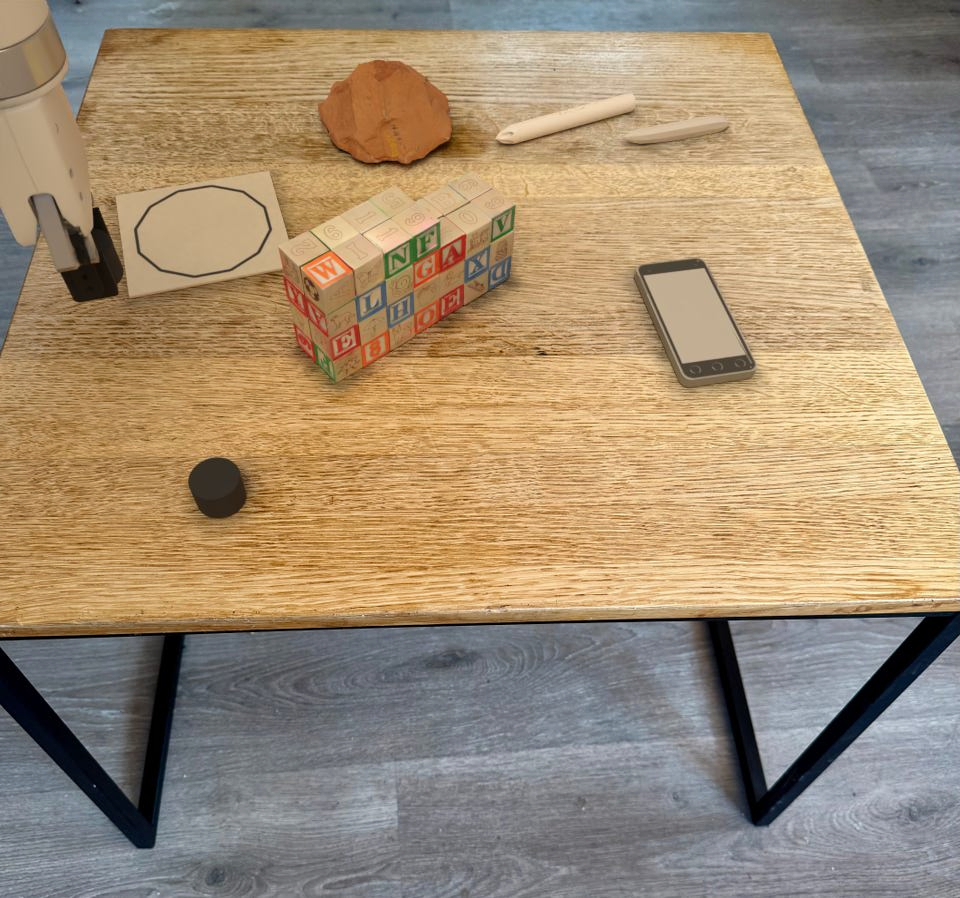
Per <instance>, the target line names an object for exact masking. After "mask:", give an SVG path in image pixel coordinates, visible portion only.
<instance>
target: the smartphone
mask: <svg viewBox="0 0 960 898" xmlns="http://www.w3.org/2000/svg"><path fill="white" fill-rule="evenodd" d="M633 278H634V281H635V284H636V286H637V288H638V290H639V293H640V295H641V297H642V300H643V302H644V304H645V306H646V308H647V311H648V314H649V315H650V316H649V317H650V318H651V321H652V323H653V326H654V328H655V331H656V332H657V334H658V337H659V338H660V341H661V343H662V345H663V348H664V350H665V352H666V355H667V357H668V360H669V362H670V364H671V366H672V368H673V371H674V373H675V375H676V378H677V380H678V382H679V384H680V385H682V386H683V387H685V388H693V387H695V388H696V387H700V386H708V385H714V384H721V383H728V382H729V383H730V382H736V381H741V380H748V379H751V378H753V377H754V374H755V373H756V371H757V369H758V363H757V360H756V358H755V356H754V354H753V352H752V351H751V349H750V346H749V345H748V343H747V341H746V339H745V337H744V334H743V333H742V331H741V329H740V327H739V325H738V323H737V321H736V319H735V317H734V315H733V312H732V310H730V309H731V308H730V307H729V305H728V302H727V301H726V299H725V297H724V295H723V294H722V291H721V289H720V288H719V285H718V283H717V280H716V279H715V277H714V276H713V273H712V272H711V270H710V267H709V265H708V263H707V262H706V261H705V259H702V258H701V257H691V258H690V257H689V258H681V259H673V260H666V261H659V262H651V263H649V262H648V263H642V264H639V265H637V267H636V269H635V273H634V276H633Z"/></svg>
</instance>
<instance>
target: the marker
mask: <svg viewBox="0 0 960 898" xmlns="http://www.w3.org/2000/svg"><path fill="white" fill-rule="evenodd" d="M636 105H637V99H636V97H635V94H634V93H632V92H627V93H623V94H619V95H616V96H612V97H607V98H604V99H600V100H597V101H592V102H589V103H585V104H581V105H578V106H574V107H571V108H567V109H563V110H559V111H556V112H551V113H547V114H544V115H540V116H537V117H533V118H530V119H526V120H523V121H519V122H515V123H511V124H509V125H507V126H505V127H504V128H503V129H502V130H501V131H499V132H498V134H497V135H496V136H495V141H497V142H499V143H501V144H508V145H511V144H518V143H522V142H525V141H529V140H533V139H536V138H540V137H545V136H547V135H551V134H555V133H558V132H563V131H565V130H568V129H569V130H570V129H572V128H576V127H580V126H584V125H587V124H592V123H595V122H598V121H602V120H605V119H610V118H612V117H616V116H619V115H620V116H621V115H623V114H628V113H631V112H632V111H634V110H635V109H636V107H637V106H636Z"/></svg>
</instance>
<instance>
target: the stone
mask: <svg viewBox="0 0 960 898" xmlns="http://www.w3.org/2000/svg"><path fill="white" fill-rule="evenodd" d="M317 109H318V113H319V117H320V119H321V120H322V122H323V124H324V126H325V127H326V128H327V130H328V132H329V133H328V137H329V139H330V141H331V142H333V144H334V145H335V146H336V147H337V148H338V149H341V150H342V151H345V152H347V153H349V154H350V155H351V157H352V158H354V159H355V160H358V161H360V162H364V163H367V164H368V163H369V164H370V163H371V164H373V163H375V164H376V163H378V164H379V163H381V162H383V161H385V162H386V161H389V162H390V161H392V162H399V163H400V164H403V165H408V164H411V163H412V162H413V161H416V160H418V159H423V158H425V157H426V156H427V155H428V154H429V153H430V152H433V151H434V150H435V149H437V148H438V147H439V146H440V145H442V144H444V143H446V142H448V141H449V140H450V139H451V137H452V132H453V128H452V124H453V121H452V118H451V117H450V116H449V114H450V110H451V107H450V104H449V98H448V97H447V95H446V94H445V93H444V92H443V91H442V90H441V89H440V88H438V87H437V86H435V85H434V84H433V83H431V82H430V81H429V80H428V78H427V77H426V76H425V75H423V74H422V73H420V72H419V71H417V69H415V68H414V67H412V66H411V65H408V64H405V63H404V62H403V61H400V60H385V59H373V60H371V61H368V62H364V63H358V64H357V66H356V67H355V68H354V70H352V72H351V73H350V75H348V76H347V77H346V78H345V79H344V80H342V81H335V82H333V84H332V86H331V88H330V91H329V94H328V96H327V97H326V98H325V100H324V101H322V102H320V103H318V104H317Z"/></svg>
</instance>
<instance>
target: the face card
mask: <svg viewBox="0 0 960 898" xmlns="http://www.w3.org/2000/svg"><path fill="white" fill-rule="evenodd" d="M114 197H115V204H116V205H115V206H116V212H117V219H118V227H119V233H120V234H119V235H120V240H121V247H122V249H121V250H122V255H123V263H124V273H125V278H126V285H127V292H128V299H135V298H141V297H147V296H151V295H157V294H162V293H163V294H164V293H167V292H173V291H178V290H183V289H188V288H195V287H200V286H204V285H211V284H215V283H222V282H226V281H227V282H228V281H231V280H232V281H233V280H238V279H243V278H248V277H253V276H259V275H265V274H269V273H276V272H281V271H283V267H282V263H281V258H280V253H279V248H278V247H279V246H280V245H281V244H283V243H285V242H287V241H289V240H290V238H289V234H288V231H287V228H286V224H285V221H284V218H283V215H282V214H283V213H282V211H281V207H280V204H279V200H278V197H277V193H276V189H275V186H274V183H273V179H272V176H271V173H270V170H266V171H259V172H252V173H247V174H241V175H235V176H234V175H233V176H228V177H222V178H221V177H220V178H216V179H215V178H214V179H210V180H204V181H197V182H190V183H184V184H179V185H173V186H167V187H166V186H165V187H160V188H154V189H148V190H141V191H135V192H129V193H123V194H116V195H115V196H114Z"/></svg>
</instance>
